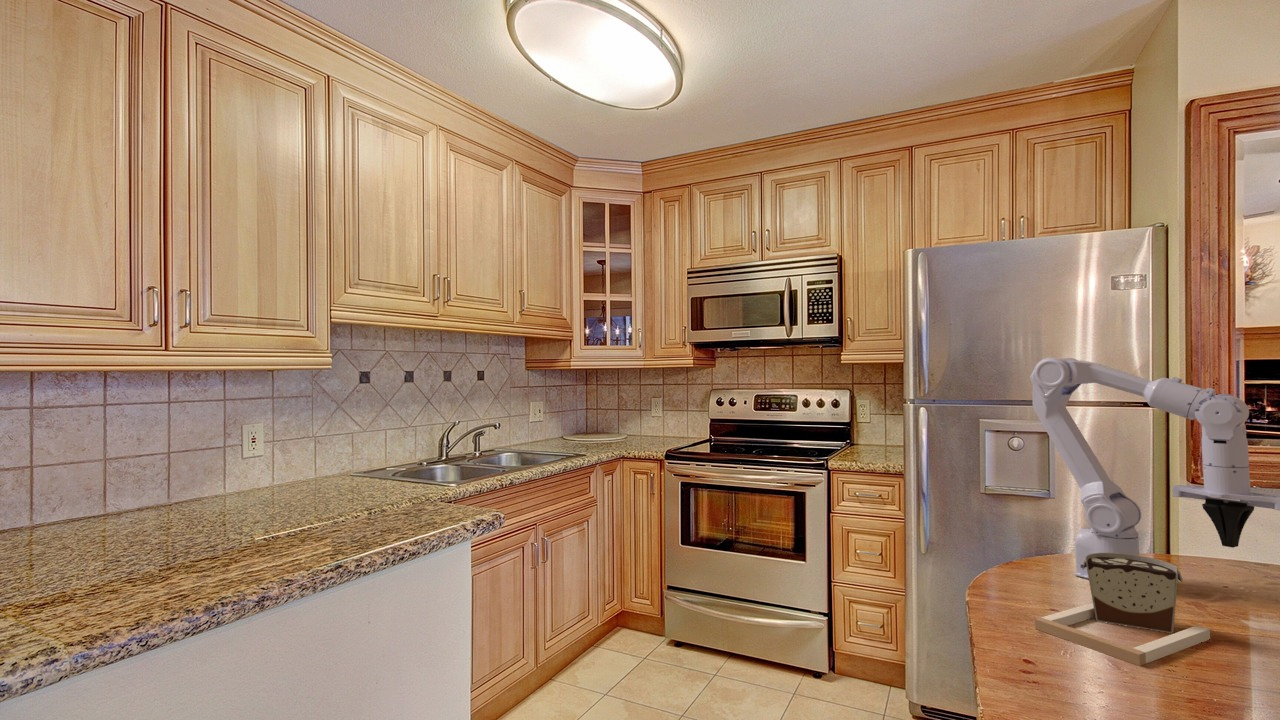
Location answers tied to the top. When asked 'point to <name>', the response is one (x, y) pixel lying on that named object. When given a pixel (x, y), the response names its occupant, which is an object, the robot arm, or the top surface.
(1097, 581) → the food container
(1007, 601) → the top surface
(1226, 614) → the top surface
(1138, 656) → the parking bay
